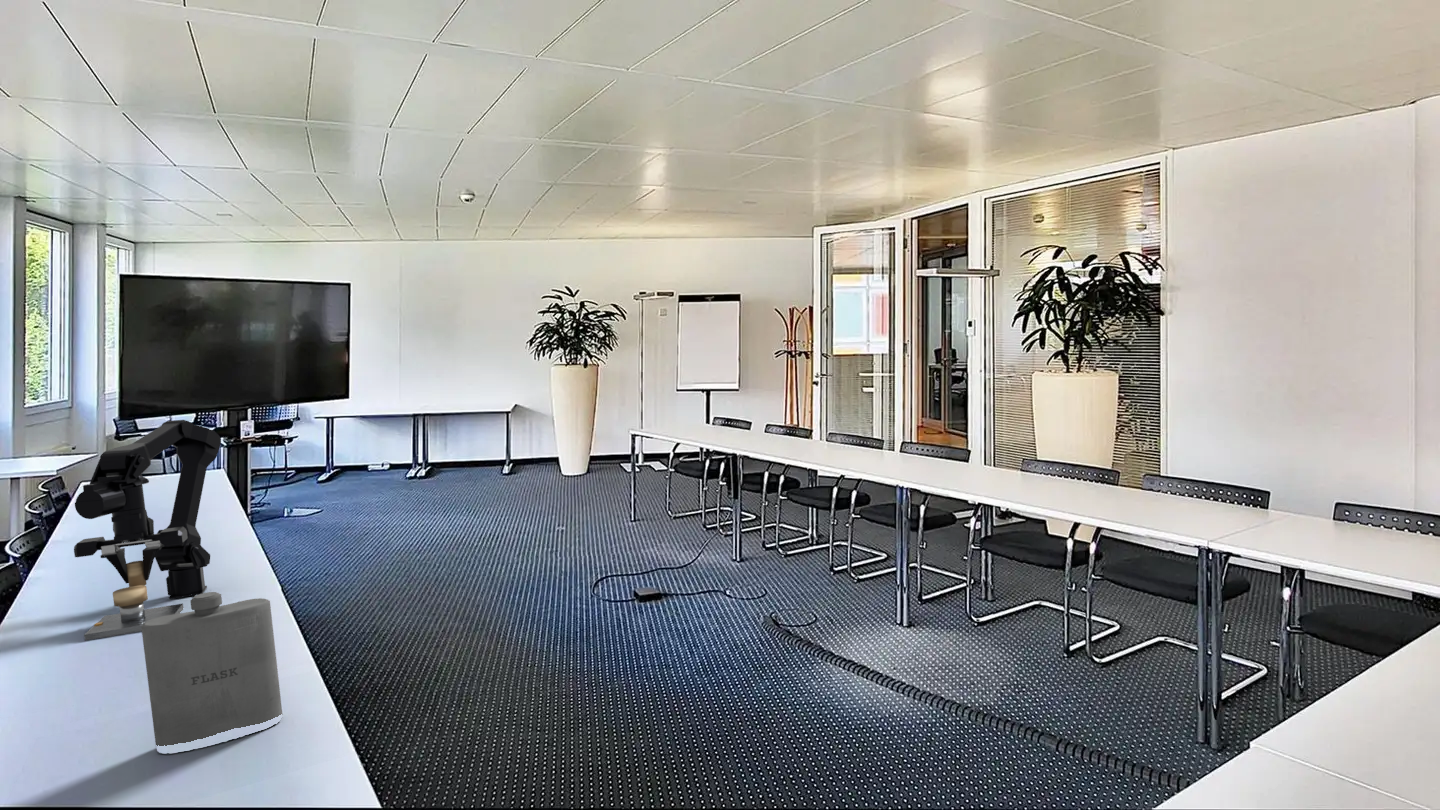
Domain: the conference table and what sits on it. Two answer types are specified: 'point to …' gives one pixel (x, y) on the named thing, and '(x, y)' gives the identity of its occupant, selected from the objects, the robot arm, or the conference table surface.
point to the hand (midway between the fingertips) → (137, 581)
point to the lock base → (128, 626)
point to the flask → (211, 669)
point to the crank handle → (132, 586)
